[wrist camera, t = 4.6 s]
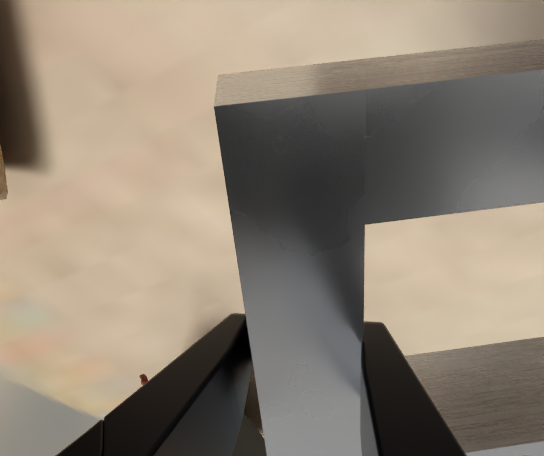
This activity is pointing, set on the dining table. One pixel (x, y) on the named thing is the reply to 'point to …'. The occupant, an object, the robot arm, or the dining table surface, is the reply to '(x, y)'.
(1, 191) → the tan boot
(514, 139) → the steel link
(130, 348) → the dining table surface
